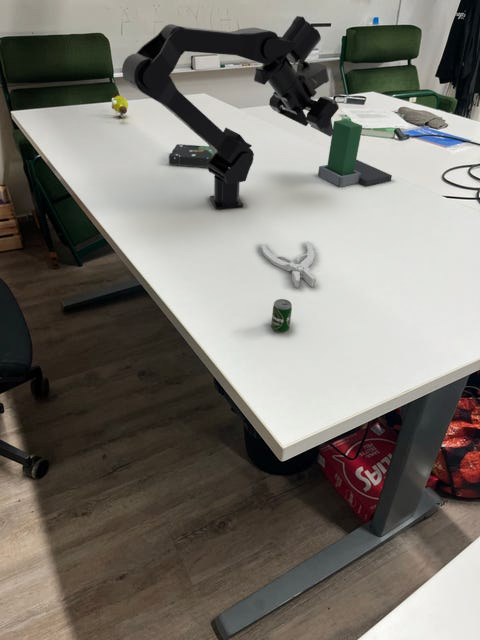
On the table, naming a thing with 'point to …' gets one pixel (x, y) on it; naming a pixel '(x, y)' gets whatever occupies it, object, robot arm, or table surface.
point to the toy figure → (119, 105)
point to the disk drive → (190, 155)
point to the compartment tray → (356, 175)
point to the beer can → (281, 315)
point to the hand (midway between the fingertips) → (319, 129)
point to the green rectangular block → (344, 147)
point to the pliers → (294, 265)
